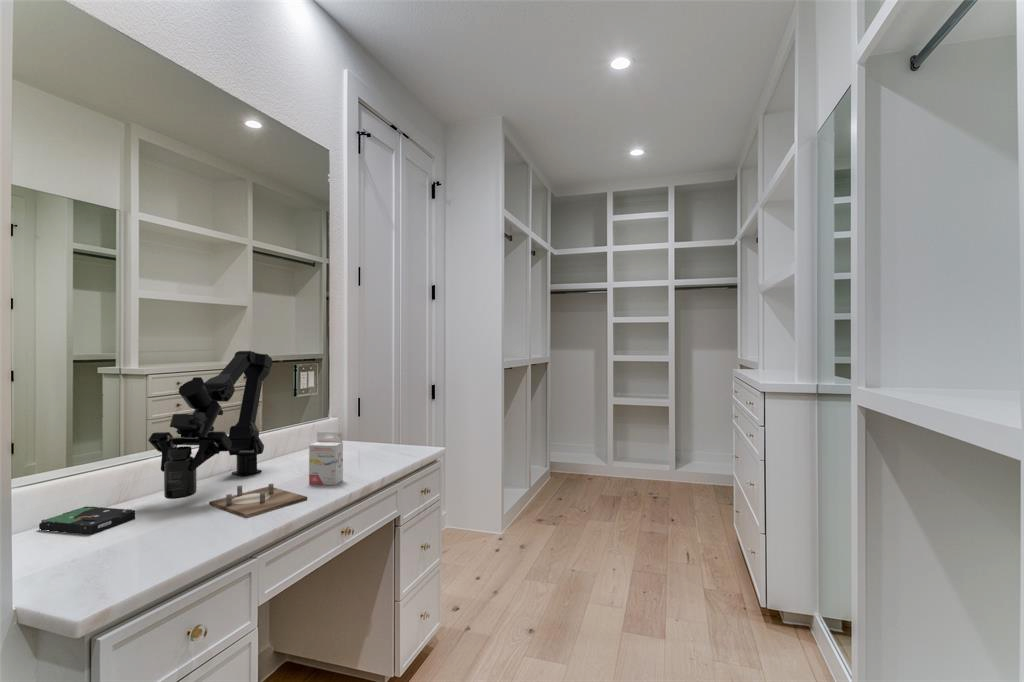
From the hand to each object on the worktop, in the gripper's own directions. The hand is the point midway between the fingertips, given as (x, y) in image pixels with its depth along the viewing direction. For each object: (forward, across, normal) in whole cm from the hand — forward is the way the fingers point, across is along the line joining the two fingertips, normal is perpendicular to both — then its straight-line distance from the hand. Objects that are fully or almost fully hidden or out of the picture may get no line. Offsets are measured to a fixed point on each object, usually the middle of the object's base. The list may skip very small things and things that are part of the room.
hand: (176, 470), depth 123 cm
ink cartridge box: (-8, +29, +23) cm, 38 cm away
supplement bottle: (+4, 0, +6) cm, 7 cm away
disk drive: (+14, -14, 0) cm, 20 cm away
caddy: (+4, +18, +10) cm, 21 cm away
